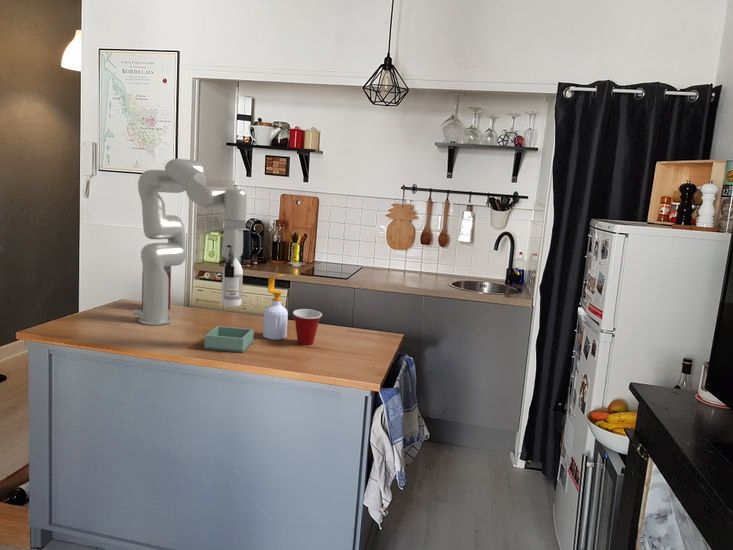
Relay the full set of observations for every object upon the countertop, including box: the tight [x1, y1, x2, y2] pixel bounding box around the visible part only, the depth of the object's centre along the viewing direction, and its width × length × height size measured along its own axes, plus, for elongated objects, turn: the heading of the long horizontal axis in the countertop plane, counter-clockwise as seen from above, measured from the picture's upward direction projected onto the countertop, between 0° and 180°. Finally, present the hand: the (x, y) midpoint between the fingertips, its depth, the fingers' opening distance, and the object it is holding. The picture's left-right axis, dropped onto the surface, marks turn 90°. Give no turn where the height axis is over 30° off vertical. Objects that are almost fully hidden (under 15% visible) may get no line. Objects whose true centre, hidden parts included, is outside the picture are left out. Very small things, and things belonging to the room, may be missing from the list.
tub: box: [203, 325, 255, 354], centre depth 208 cm, size 14×14×5 cm
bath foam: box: [220, 256, 244, 308], centre depth 204 cm, size 7×7×20 cm
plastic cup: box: [292, 308, 323, 346], centre depth 217 cm, size 11×11×12 cm
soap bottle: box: [262, 273, 289, 341], centre depth 222 cm, size 9×9×25 cm
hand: (232, 275), depth 204 cm, fingers closed on bath foam, 7 cm apart
